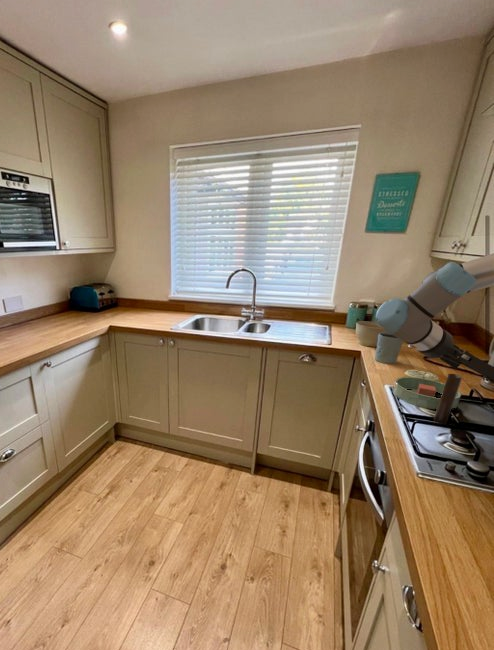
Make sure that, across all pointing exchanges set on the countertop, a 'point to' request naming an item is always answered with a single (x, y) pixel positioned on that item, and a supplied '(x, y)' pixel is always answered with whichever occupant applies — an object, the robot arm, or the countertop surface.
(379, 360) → the blue grey cup
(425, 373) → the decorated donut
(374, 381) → the countertop surface
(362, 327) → the planter bowl
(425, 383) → the bowl
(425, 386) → the block
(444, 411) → the dark brown bar
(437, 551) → the countertop surface
